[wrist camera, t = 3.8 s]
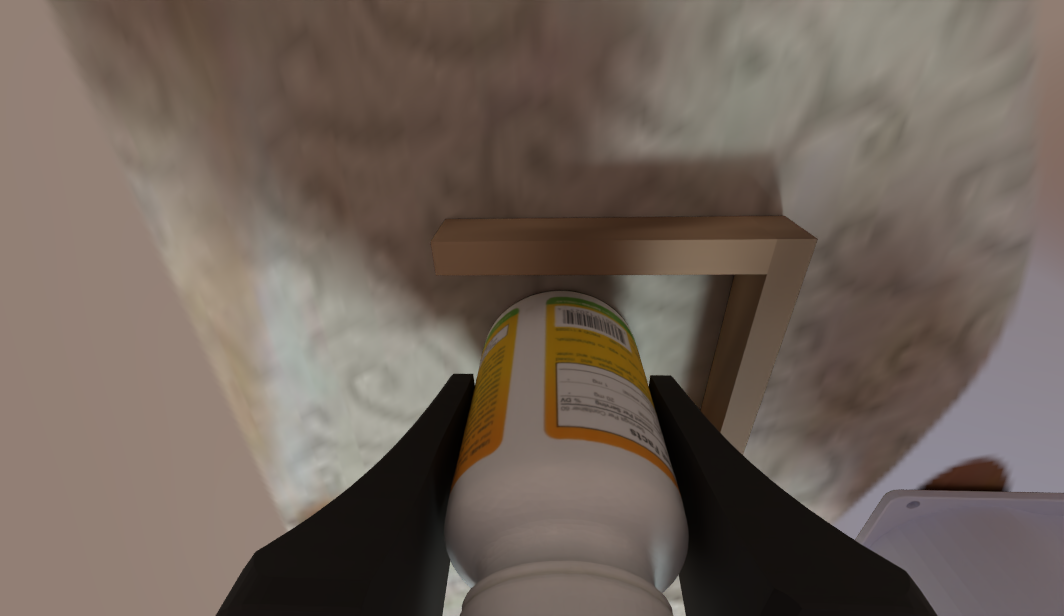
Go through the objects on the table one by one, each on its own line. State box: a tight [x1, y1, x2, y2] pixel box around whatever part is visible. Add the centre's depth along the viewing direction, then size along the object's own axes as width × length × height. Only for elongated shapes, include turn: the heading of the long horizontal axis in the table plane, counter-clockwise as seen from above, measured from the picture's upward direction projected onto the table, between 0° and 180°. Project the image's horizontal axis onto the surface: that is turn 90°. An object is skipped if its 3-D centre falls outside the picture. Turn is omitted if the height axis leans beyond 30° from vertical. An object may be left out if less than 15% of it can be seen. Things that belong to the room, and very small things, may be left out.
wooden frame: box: [431, 216, 818, 455], centre depth 14 cm, size 10×10×2 cm
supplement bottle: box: [444, 291, 689, 616], centre depth 11 cm, size 5×5×10 cm
